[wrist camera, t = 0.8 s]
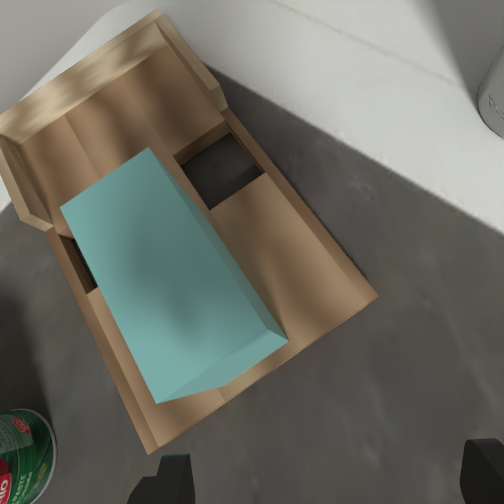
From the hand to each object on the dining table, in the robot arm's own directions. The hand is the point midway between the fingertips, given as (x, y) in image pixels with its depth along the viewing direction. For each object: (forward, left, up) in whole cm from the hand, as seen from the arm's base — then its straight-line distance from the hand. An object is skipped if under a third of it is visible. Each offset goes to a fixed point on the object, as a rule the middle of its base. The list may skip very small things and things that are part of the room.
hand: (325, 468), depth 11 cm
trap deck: (+3, -21, -18) cm, 28 cm away
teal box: (+3, -11, -16) cm, 20 cm away
